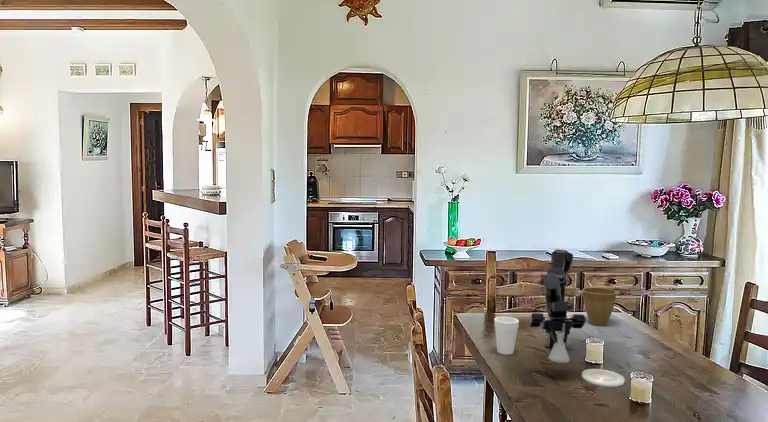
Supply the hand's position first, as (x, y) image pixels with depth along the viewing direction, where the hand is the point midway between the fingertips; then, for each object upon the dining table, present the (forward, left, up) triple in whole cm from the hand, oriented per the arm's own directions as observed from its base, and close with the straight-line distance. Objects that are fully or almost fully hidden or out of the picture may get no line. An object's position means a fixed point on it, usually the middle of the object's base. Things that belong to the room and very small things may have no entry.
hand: (560, 342), depth 198 cm
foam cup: (-11, -28, -13) cm, 33 cm away
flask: (-1, -1, -7) cm, 7 cm away
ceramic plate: (-11, +11, -13) cm, 20 cm away
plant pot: (-78, -18, -13) cm, 81 cm away
